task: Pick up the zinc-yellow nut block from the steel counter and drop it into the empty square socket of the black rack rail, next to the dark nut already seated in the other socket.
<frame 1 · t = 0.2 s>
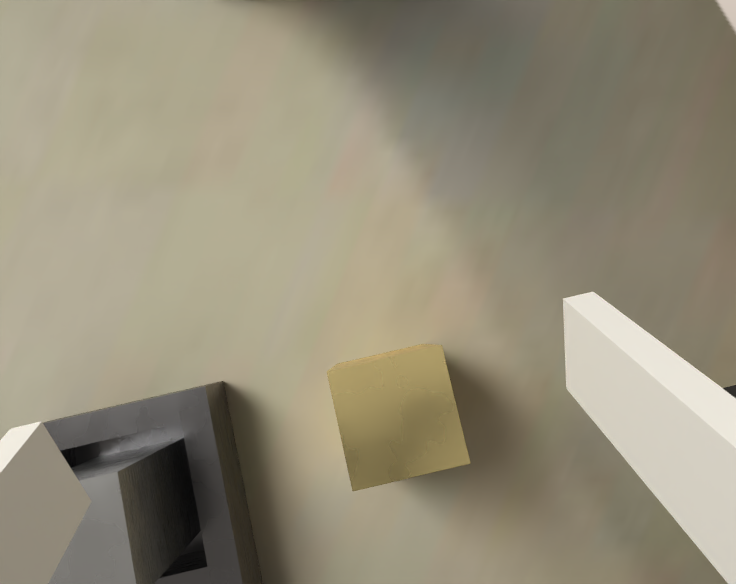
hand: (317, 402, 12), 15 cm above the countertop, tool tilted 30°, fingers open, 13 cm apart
nut block: (390, 397, 27), on the countertop
seated nut: (147, 493, 26), resting on rack rail
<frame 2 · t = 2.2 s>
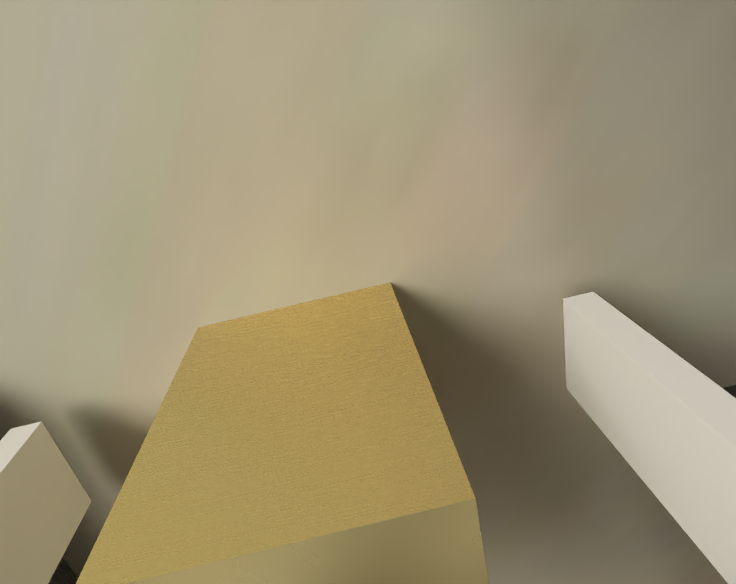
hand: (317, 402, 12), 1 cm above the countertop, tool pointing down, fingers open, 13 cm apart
nut block: (318, 384, 13), on the countertop
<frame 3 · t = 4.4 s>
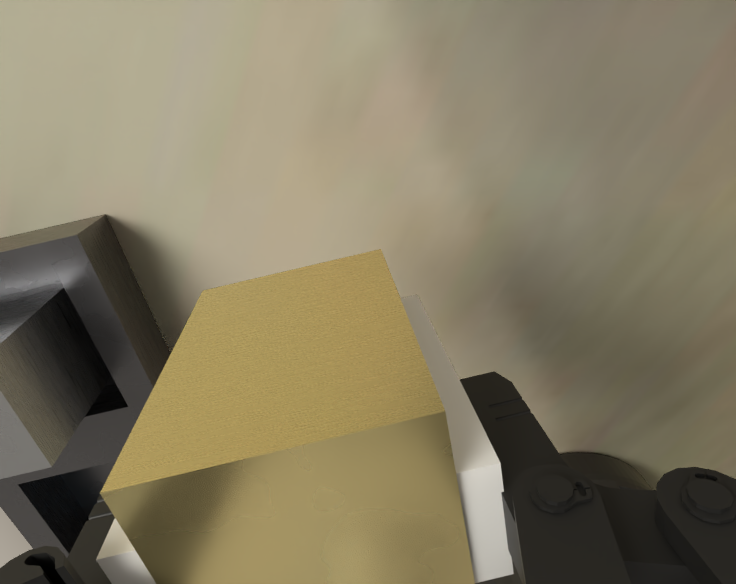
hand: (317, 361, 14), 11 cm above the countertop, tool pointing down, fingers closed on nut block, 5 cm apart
nut block: (314, 346, 14), point 10 cm above the countertop, touching gripper
seated nut: (46, 335, 24), resting on rack rail
rack rail: (96, 407, 26), on the countertop
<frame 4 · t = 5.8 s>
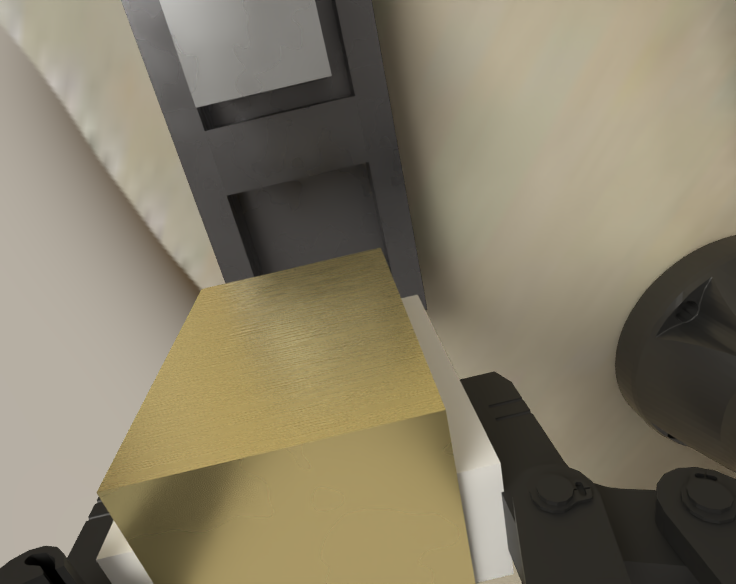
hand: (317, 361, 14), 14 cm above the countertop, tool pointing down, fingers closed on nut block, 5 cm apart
nut block: (314, 345, 14), point 14 cm above the countertop, touching gripper
seated nut: (262, 33, 22), resting on rack rail
rack rail: (291, 140, 25), on the countertop
when the fingers open (4 cm above the countertop, at t = 7.5 s): nut block drops 3 cm, resting on rack rail.
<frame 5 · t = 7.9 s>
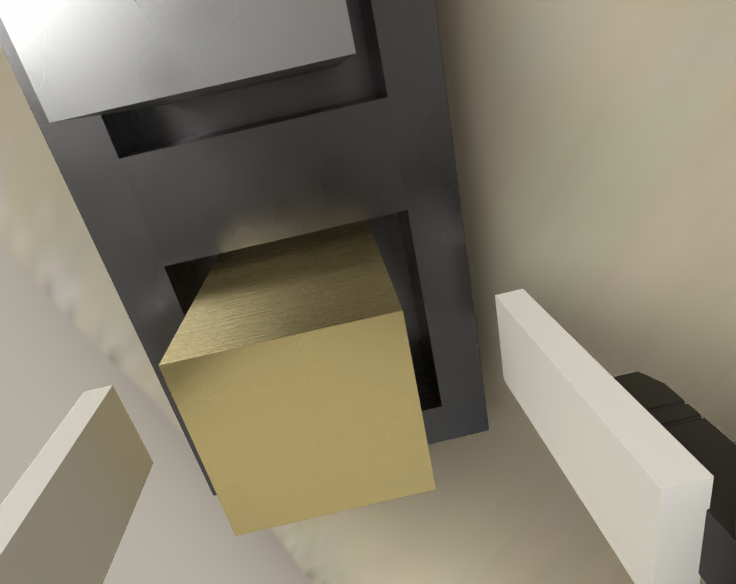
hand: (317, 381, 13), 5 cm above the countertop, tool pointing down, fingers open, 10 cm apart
nut block: (311, 301, 17), resting on rack rail
rack rail: (278, 167, 15), on the countertop
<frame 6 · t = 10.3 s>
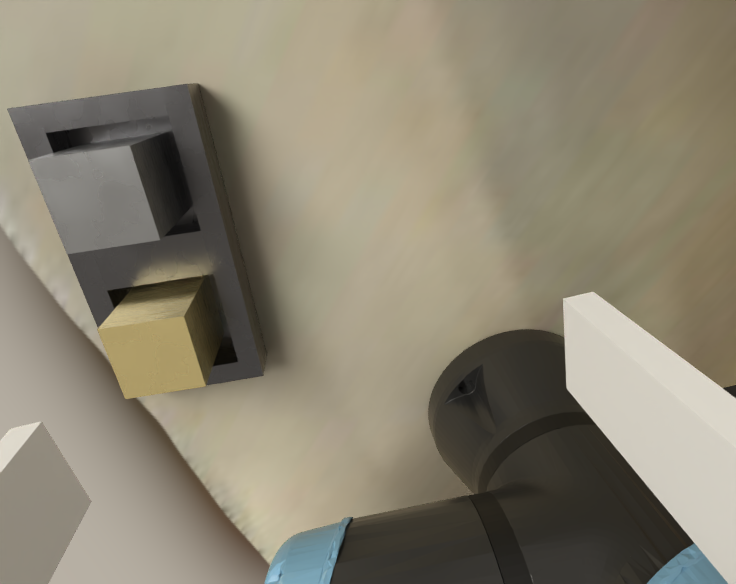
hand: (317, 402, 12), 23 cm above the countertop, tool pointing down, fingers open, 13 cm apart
nut block: (182, 308, 35), resting on rack rail
seated nut: (141, 176, 31), resting on rack rail
rack rail: (166, 246, 34), on the countertop
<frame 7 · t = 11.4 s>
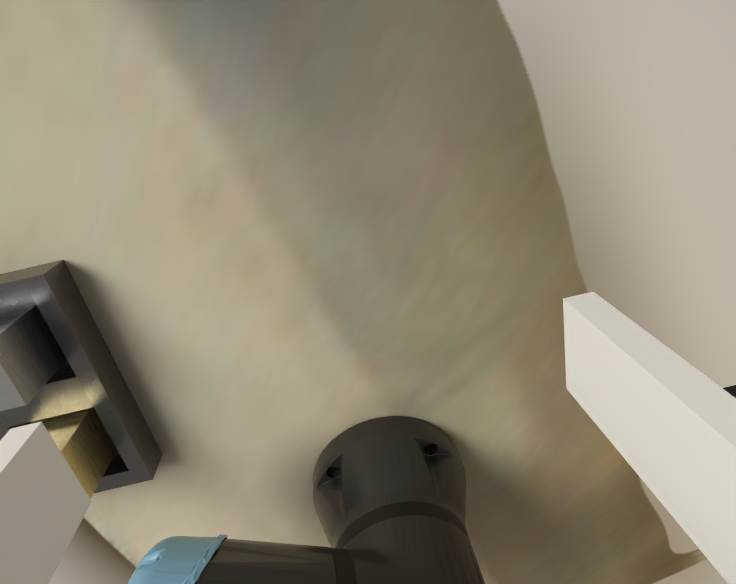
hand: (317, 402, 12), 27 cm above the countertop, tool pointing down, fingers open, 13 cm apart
nut block: (81, 427, 42), resting on rack rail
seated nut: (27, 333, 38), resting on rack rail
rack rail: (60, 380, 41), on the countertop
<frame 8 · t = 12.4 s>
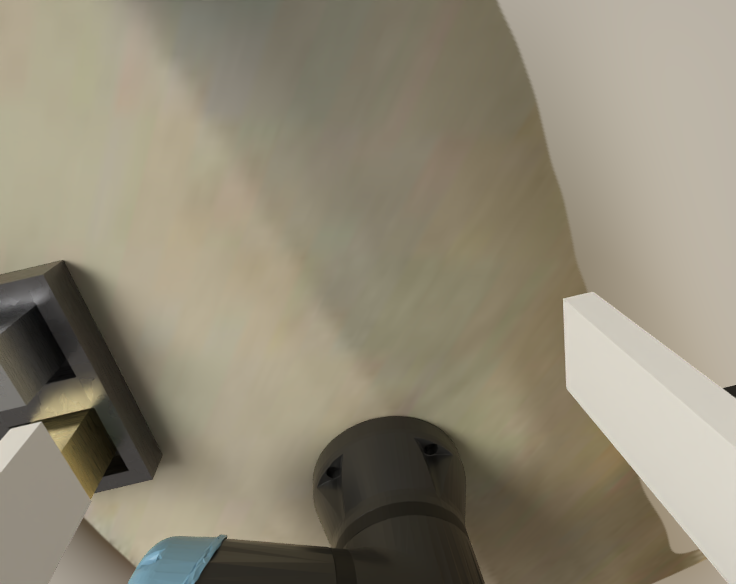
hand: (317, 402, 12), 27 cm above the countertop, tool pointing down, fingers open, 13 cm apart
nut block: (81, 427, 42), resting on rack rail
seated nut: (27, 333, 38), resting on rack rail
rack rail: (60, 381, 41), on the countertop
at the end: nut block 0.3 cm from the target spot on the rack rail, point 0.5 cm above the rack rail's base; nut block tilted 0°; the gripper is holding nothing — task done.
